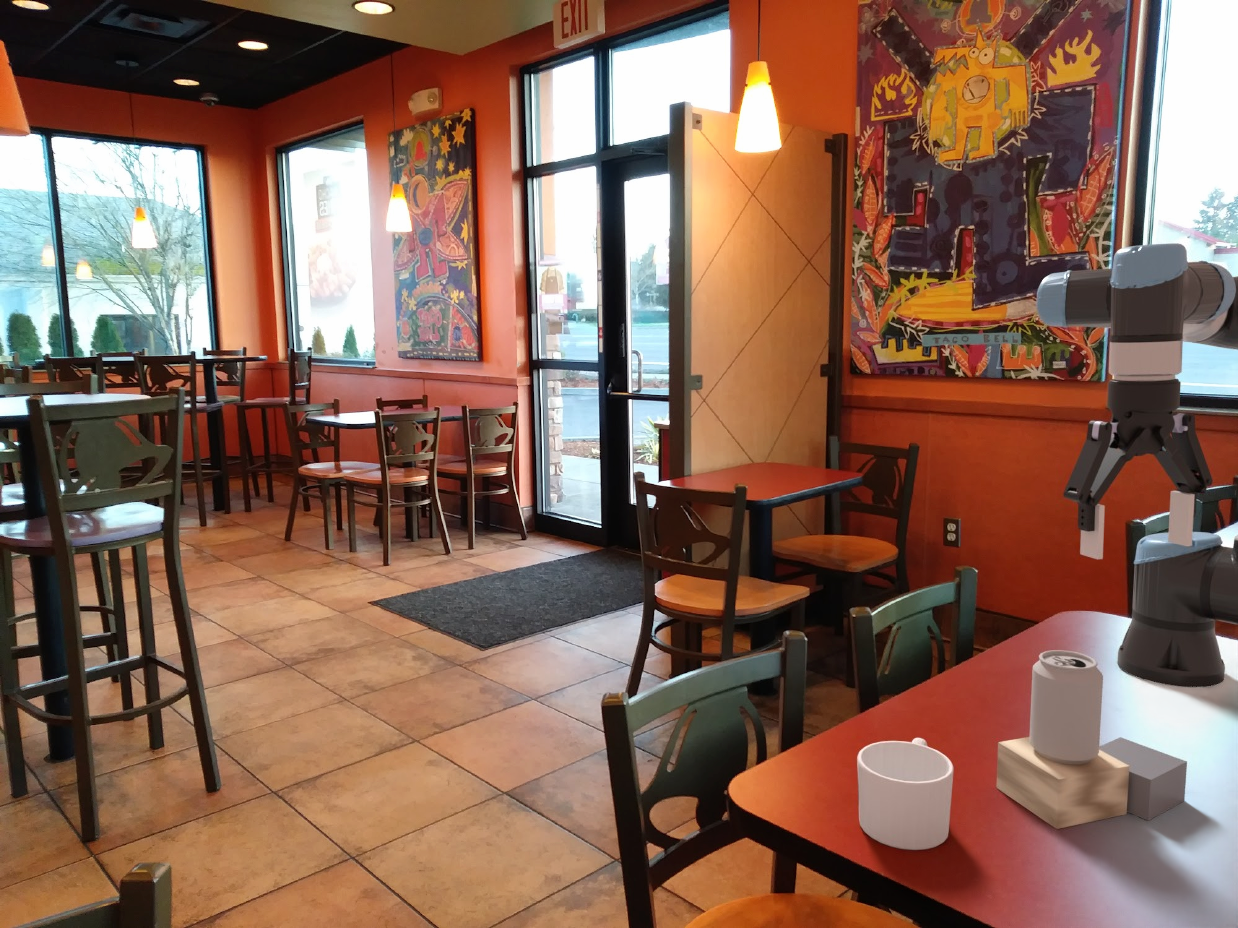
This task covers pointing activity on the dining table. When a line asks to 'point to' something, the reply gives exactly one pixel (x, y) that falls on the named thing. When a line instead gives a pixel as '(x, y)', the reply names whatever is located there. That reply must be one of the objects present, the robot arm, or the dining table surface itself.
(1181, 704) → the dining table surface
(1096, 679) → the can
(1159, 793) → the slate block
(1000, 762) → the birch block
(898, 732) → the dining table surface
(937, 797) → the mug
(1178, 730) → the dining table surface
